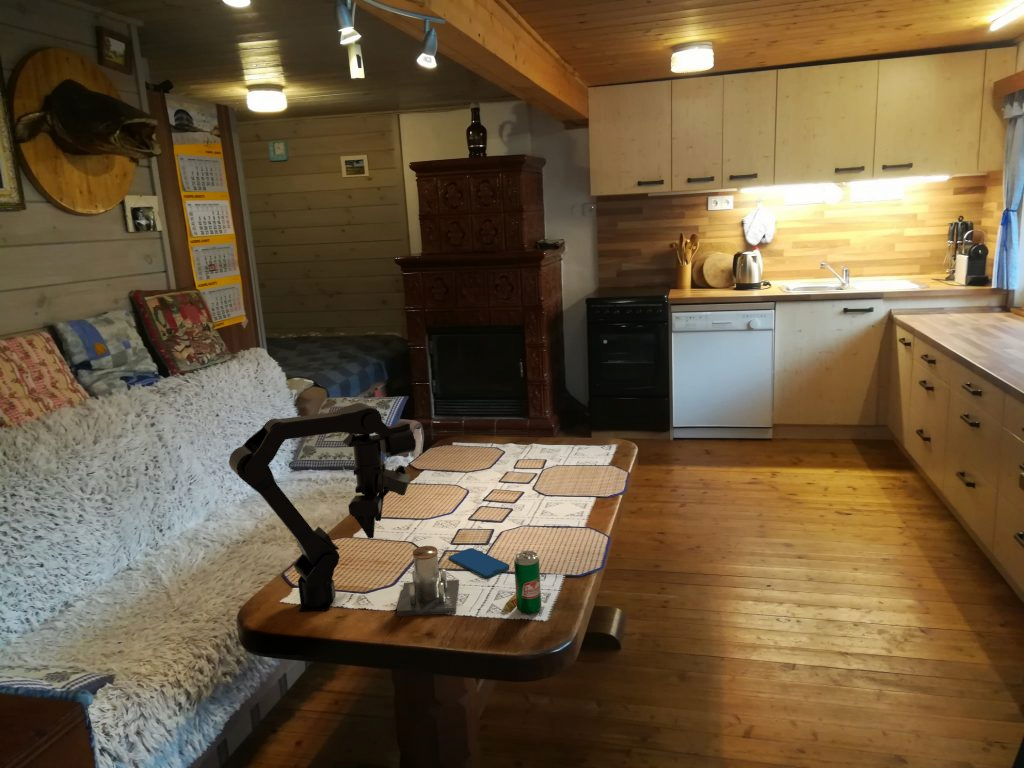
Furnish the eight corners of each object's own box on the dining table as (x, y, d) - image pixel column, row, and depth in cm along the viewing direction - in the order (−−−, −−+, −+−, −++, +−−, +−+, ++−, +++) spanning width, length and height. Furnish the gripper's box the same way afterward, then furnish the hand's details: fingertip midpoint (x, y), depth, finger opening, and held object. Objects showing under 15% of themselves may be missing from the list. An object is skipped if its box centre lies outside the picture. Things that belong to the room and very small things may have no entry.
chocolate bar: (536, 587, 165) (535, 578, 165) (512, 614, 155) (511, 604, 155) (525, 585, 167) (525, 576, 166) (500, 612, 156) (500, 602, 156)
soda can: (524, 618, 153) (521, 563, 150) (512, 607, 157) (509, 553, 154) (546, 611, 155) (543, 556, 152) (533, 600, 159) (531, 547, 156)
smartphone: (471, 547, 185) (511, 565, 174) (471, 550, 185) (511, 569, 174) (446, 557, 180) (486, 576, 169) (447, 560, 181) (486, 580, 169)
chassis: (397, 616, 156) (395, 593, 155) (404, 587, 167) (402, 566, 166) (455, 613, 156) (454, 589, 155) (459, 584, 168) (457, 563, 166)
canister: (415, 601, 159) (411, 557, 157) (417, 589, 164) (413, 546, 162) (440, 600, 159) (436, 555, 157) (442, 588, 164) (438, 545, 162)
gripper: (399, 474, 155) (405, 545, 158) (411, 446, 173) (416, 511, 176) (344, 477, 155) (352, 548, 158) (362, 448, 173) (368, 513, 176)
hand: (374, 529), depth 167 cm, fingers open, 9 cm apart
